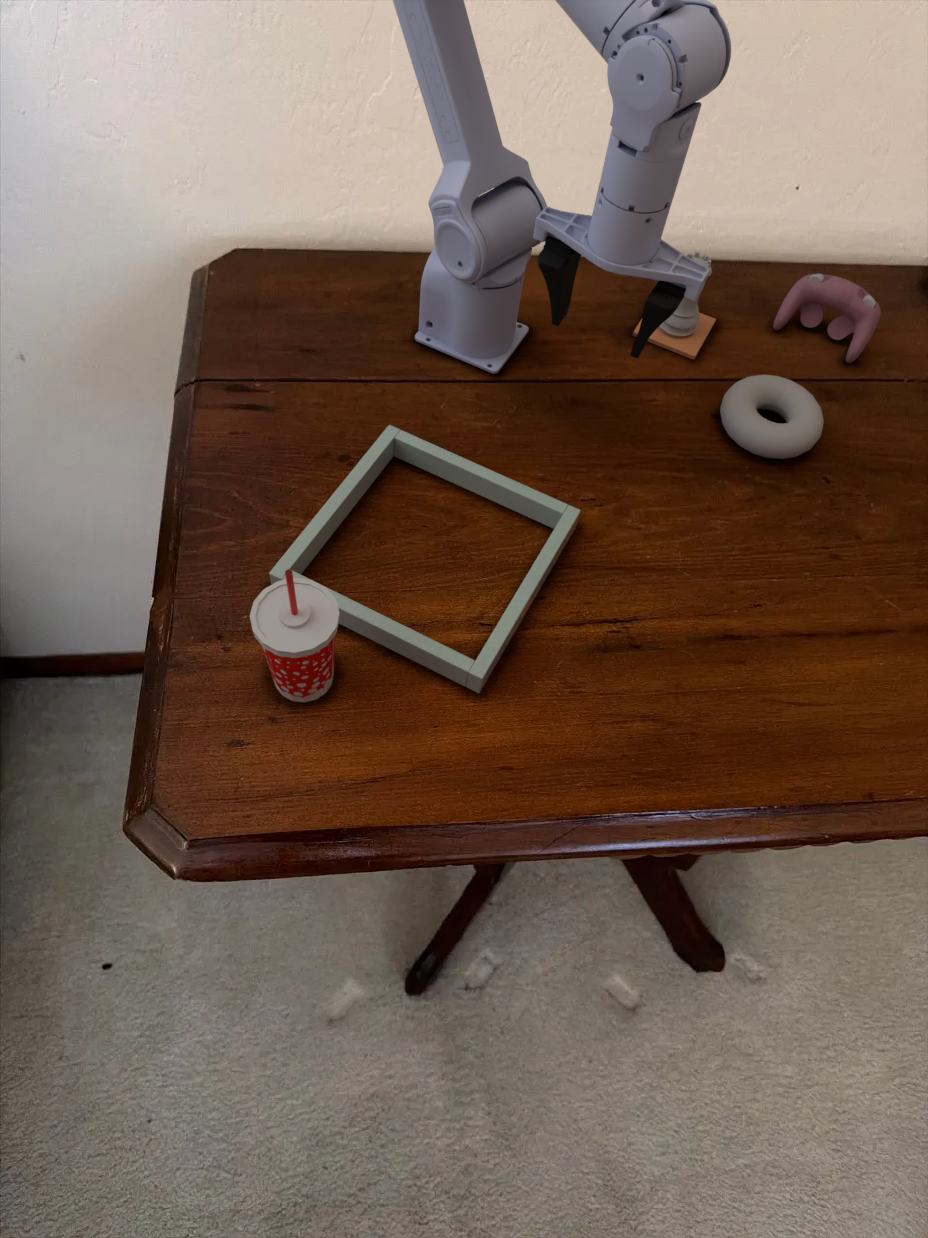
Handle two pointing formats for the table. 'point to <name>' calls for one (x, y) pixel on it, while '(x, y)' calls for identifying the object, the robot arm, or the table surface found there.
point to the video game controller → (840, 296)
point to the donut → (764, 433)
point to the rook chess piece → (686, 309)
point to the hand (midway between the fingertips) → (598, 334)
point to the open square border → (464, 476)
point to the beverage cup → (297, 635)
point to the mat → (682, 338)
